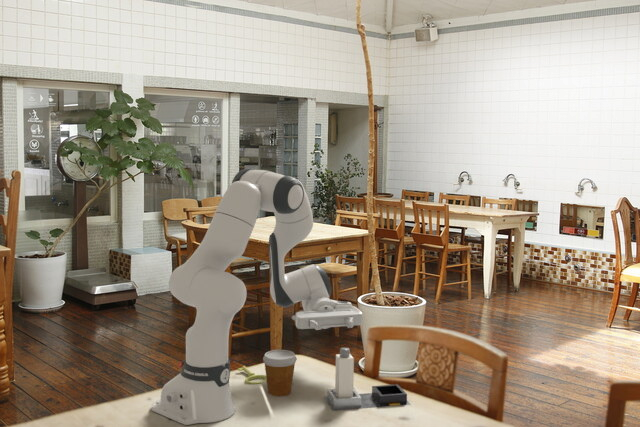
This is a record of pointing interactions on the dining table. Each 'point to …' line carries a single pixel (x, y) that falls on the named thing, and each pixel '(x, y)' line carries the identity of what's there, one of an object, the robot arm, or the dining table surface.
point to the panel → (369, 398)
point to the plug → (344, 374)
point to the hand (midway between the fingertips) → (334, 326)
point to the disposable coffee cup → (279, 371)
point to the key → (252, 376)
